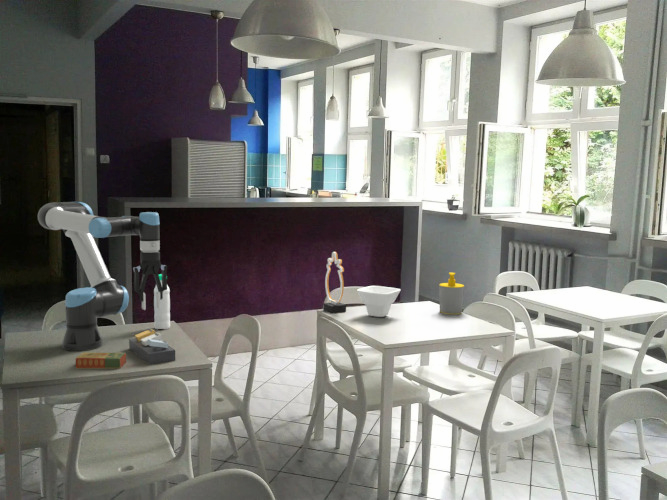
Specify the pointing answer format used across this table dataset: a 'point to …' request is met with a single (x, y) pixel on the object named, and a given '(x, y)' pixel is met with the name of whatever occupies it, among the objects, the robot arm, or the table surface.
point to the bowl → (378, 299)
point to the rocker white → (153, 337)
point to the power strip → (151, 352)
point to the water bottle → (162, 309)
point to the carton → (100, 360)
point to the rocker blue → (157, 343)
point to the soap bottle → (451, 296)
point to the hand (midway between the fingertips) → (151, 308)
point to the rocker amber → (144, 334)
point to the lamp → (336, 305)
